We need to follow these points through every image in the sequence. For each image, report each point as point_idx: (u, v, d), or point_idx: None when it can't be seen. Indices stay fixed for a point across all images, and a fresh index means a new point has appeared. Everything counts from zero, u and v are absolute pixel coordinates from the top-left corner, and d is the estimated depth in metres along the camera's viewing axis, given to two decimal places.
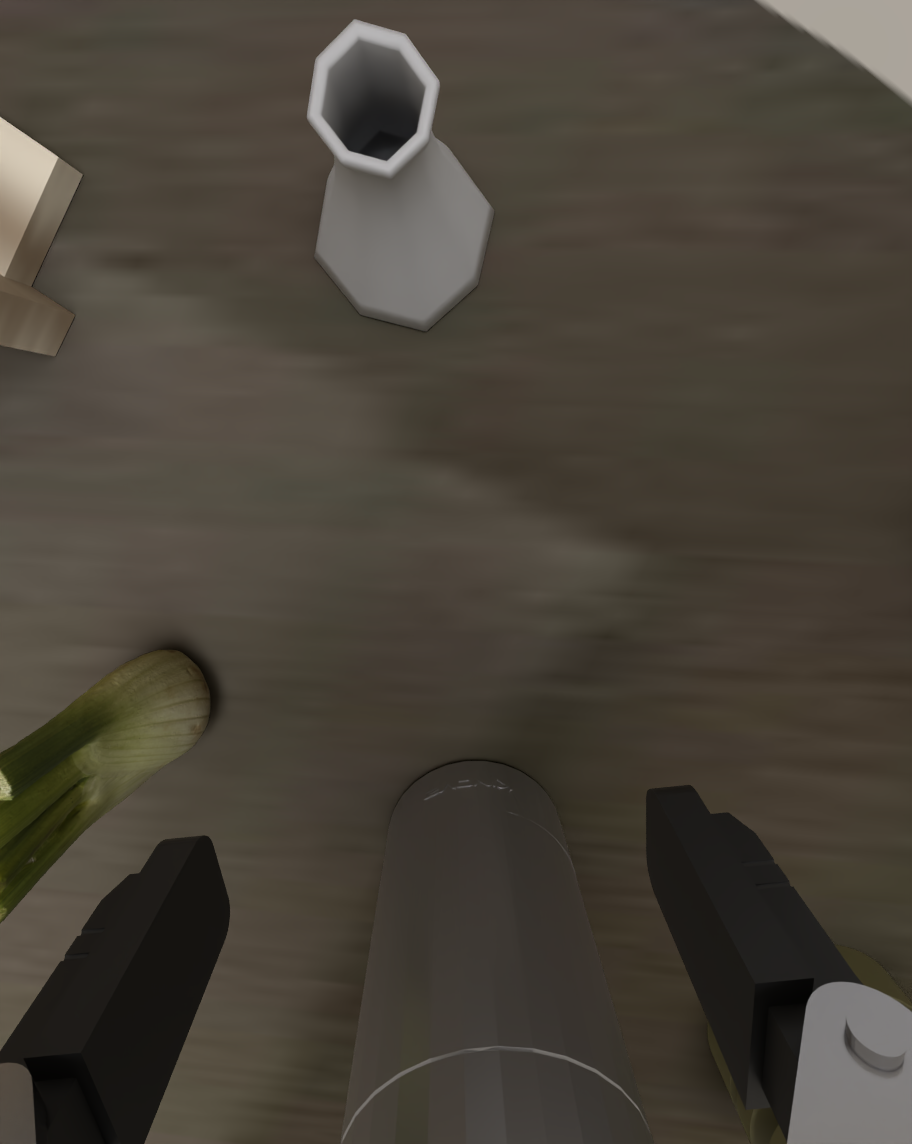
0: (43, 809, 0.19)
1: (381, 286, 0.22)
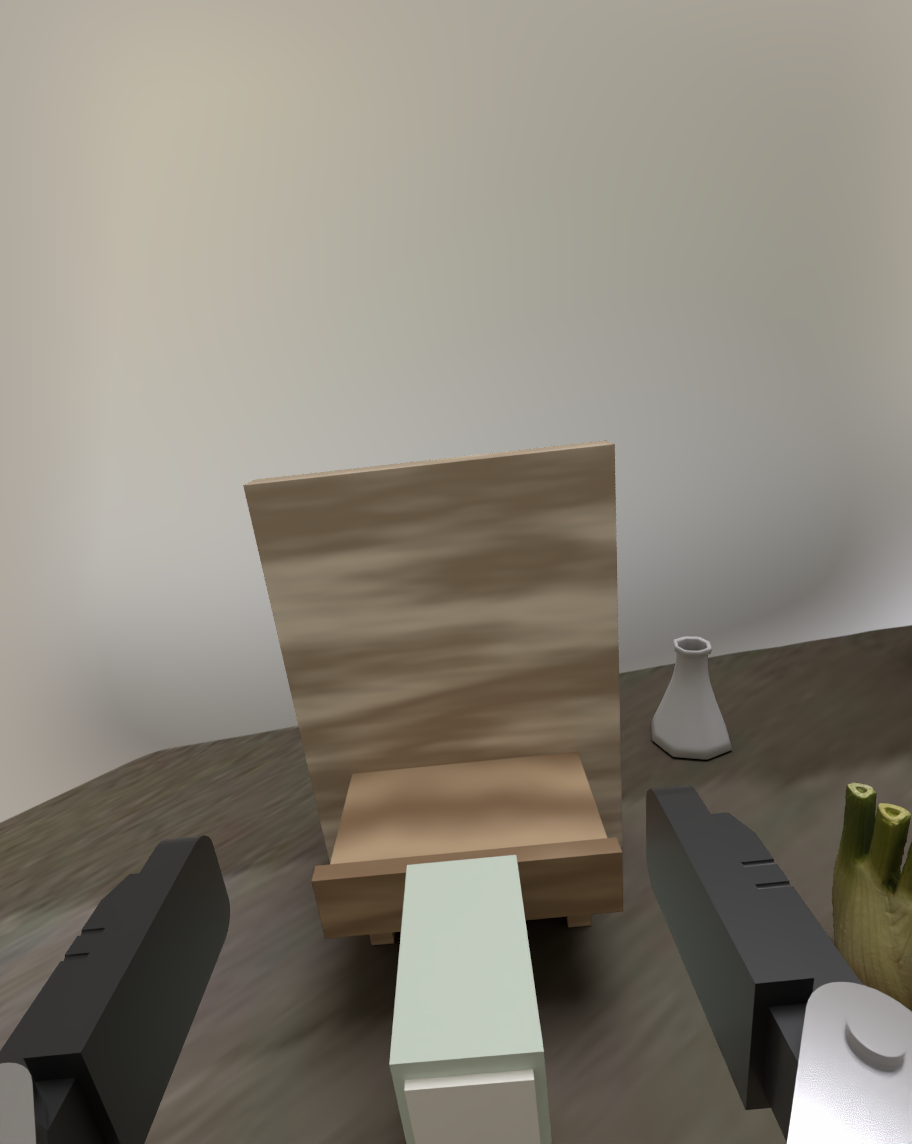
0: None
1: (710, 728, 0.51)
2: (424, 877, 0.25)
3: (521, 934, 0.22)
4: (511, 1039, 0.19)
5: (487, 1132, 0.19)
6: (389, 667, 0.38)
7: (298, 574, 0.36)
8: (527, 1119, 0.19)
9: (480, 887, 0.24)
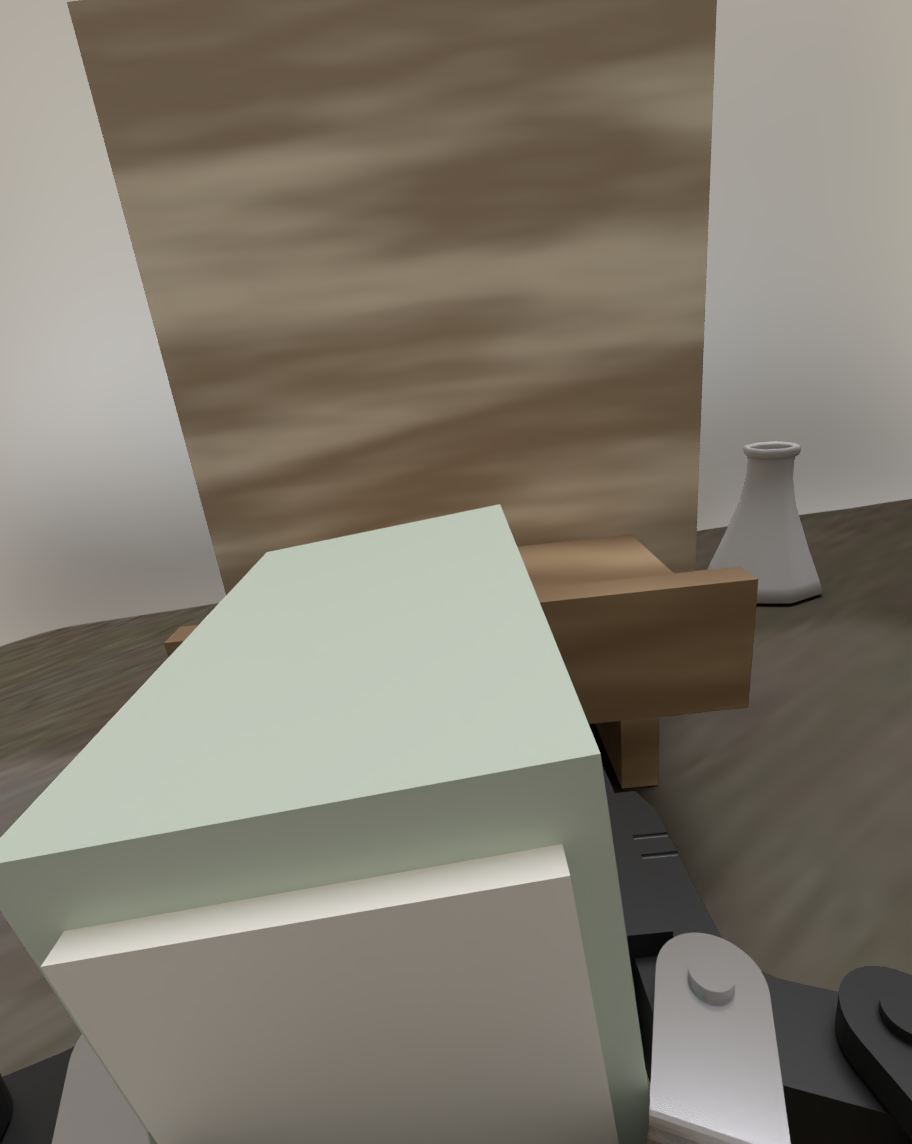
0: None
1: (795, 562, 0.37)
2: (297, 555, 0.11)
3: (510, 570, 0.08)
4: (468, 739, 0.05)
5: (418, 1107, 0.05)
6: (337, 380, 0.24)
7: (176, 196, 0.21)
8: (560, 1048, 0.05)
9: (415, 543, 0.10)
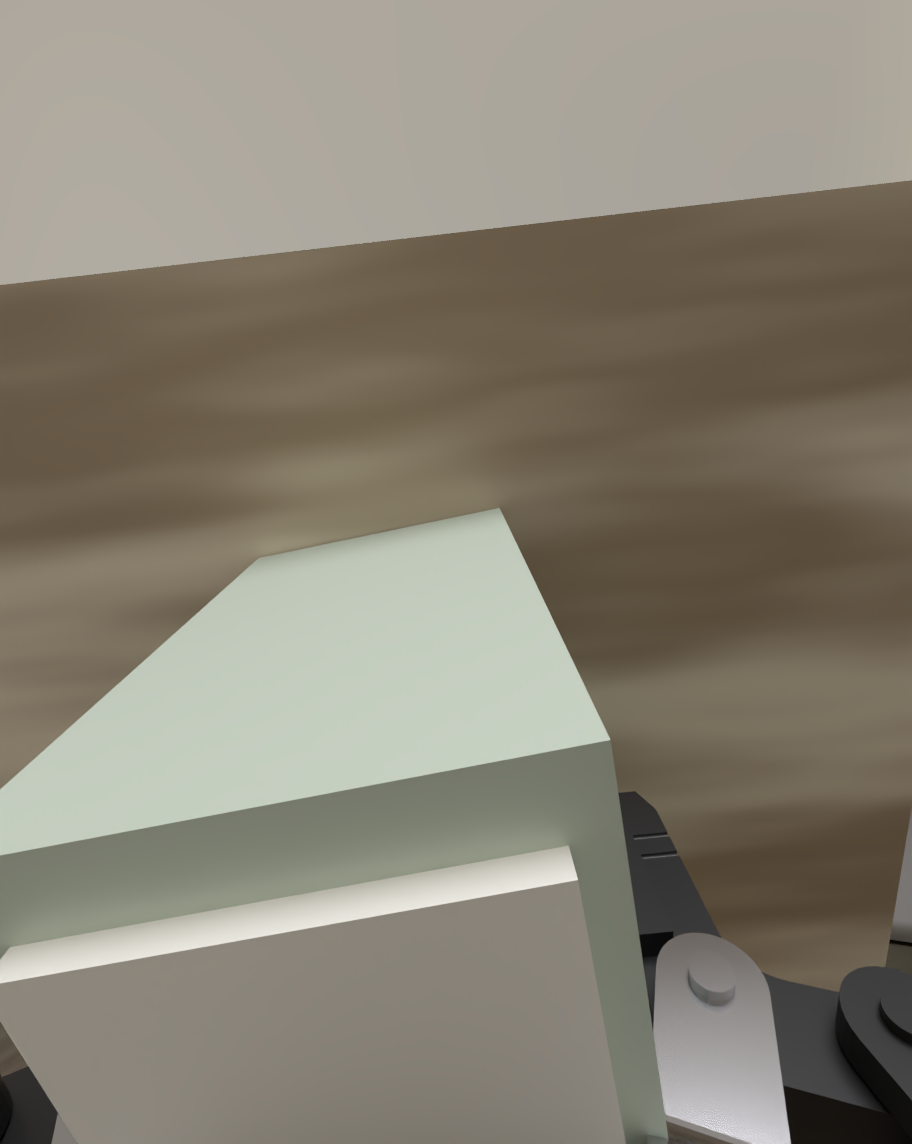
0: None
1: None
2: (290, 560, 0.11)
3: (509, 566, 0.08)
4: (462, 729, 0.04)
5: None
6: None
7: (0, 605, 0.12)
8: (568, 1084, 0.04)
9: (412, 545, 0.10)
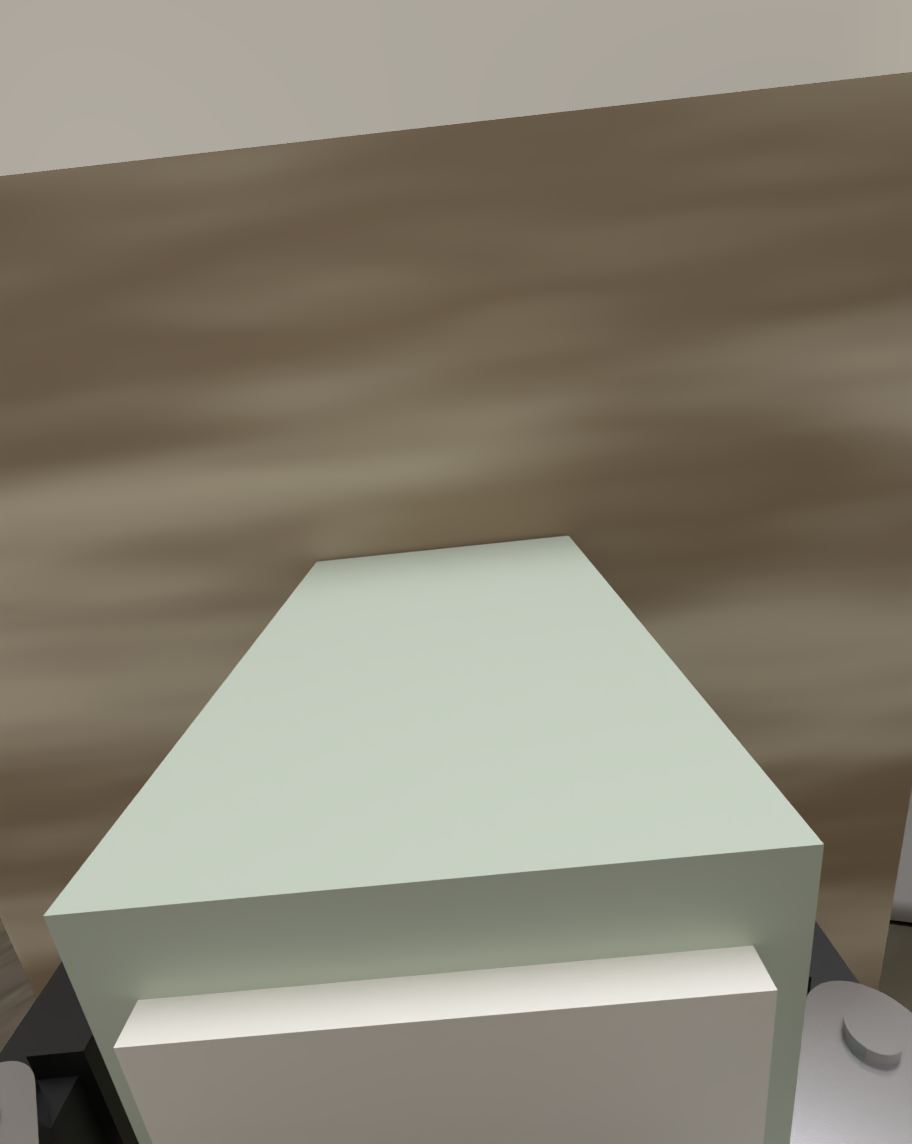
0: None
1: None
2: (353, 568, 0.11)
3: (611, 608, 0.07)
4: (644, 809, 0.04)
5: None
6: None
7: None
8: None
9: (487, 568, 0.10)
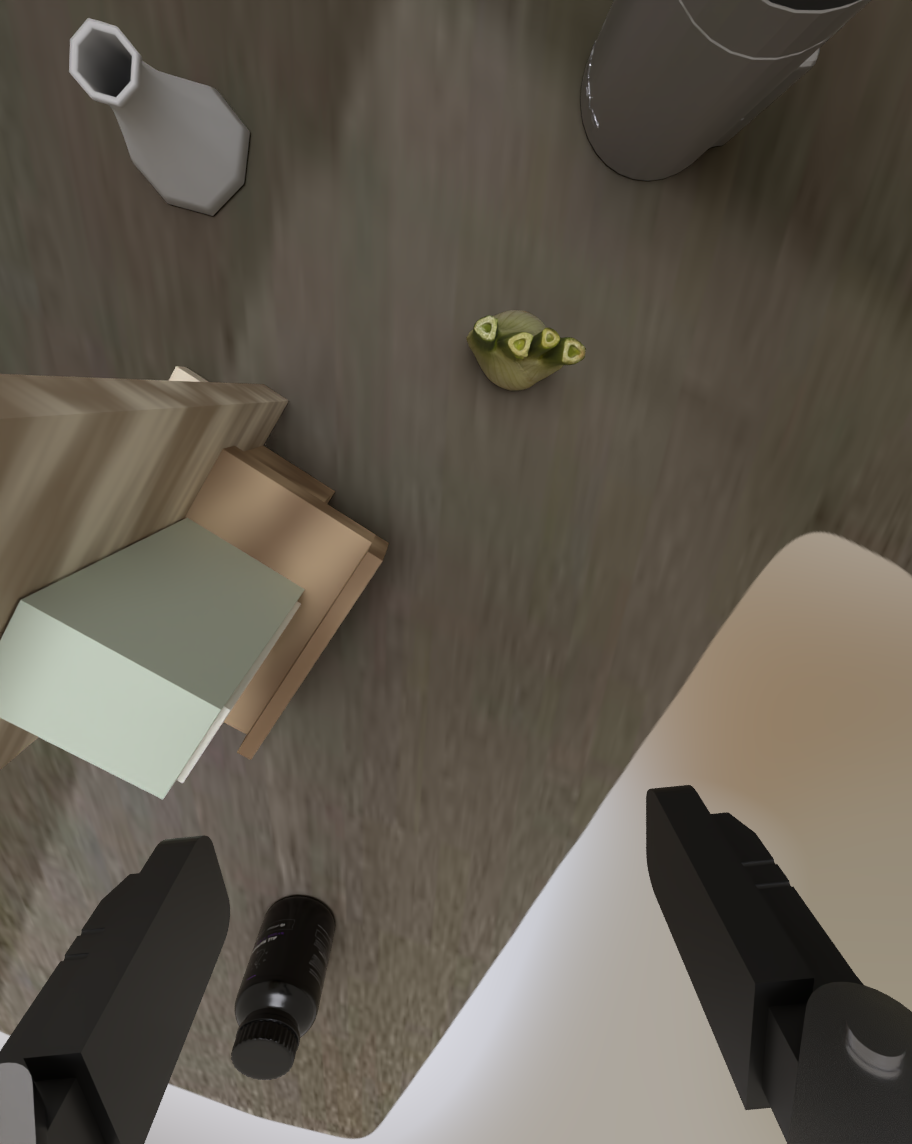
0: None
1: (219, 145, 0.34)
2: None
3: (119, 659, 0.21)
4: (198, 722, 0.22)
5: None
6: None
7: None
8: None
9: (43, 657, 0.21)
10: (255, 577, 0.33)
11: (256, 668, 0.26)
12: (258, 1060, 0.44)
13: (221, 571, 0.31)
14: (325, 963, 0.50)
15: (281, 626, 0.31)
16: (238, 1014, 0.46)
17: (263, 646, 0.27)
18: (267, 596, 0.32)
